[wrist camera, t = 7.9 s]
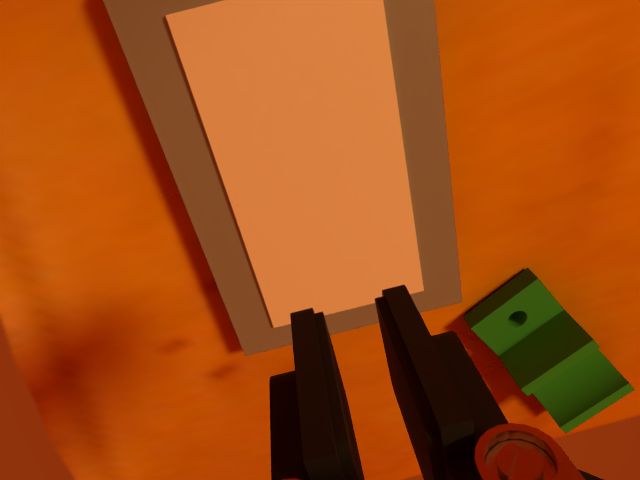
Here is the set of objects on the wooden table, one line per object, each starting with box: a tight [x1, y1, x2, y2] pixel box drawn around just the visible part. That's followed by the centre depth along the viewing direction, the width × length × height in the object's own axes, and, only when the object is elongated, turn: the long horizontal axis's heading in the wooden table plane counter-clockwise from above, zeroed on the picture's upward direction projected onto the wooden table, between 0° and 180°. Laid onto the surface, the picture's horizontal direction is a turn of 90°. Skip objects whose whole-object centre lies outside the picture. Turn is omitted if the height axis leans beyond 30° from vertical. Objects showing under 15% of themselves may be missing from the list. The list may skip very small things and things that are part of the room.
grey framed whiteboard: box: [103, 0, 462, 356], centre depth 21 cm, size 18×12×1 cm, turn 13°
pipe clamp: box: [463, 268, 635, 433], centre depth 27 cm, size 11×4×5 cm
